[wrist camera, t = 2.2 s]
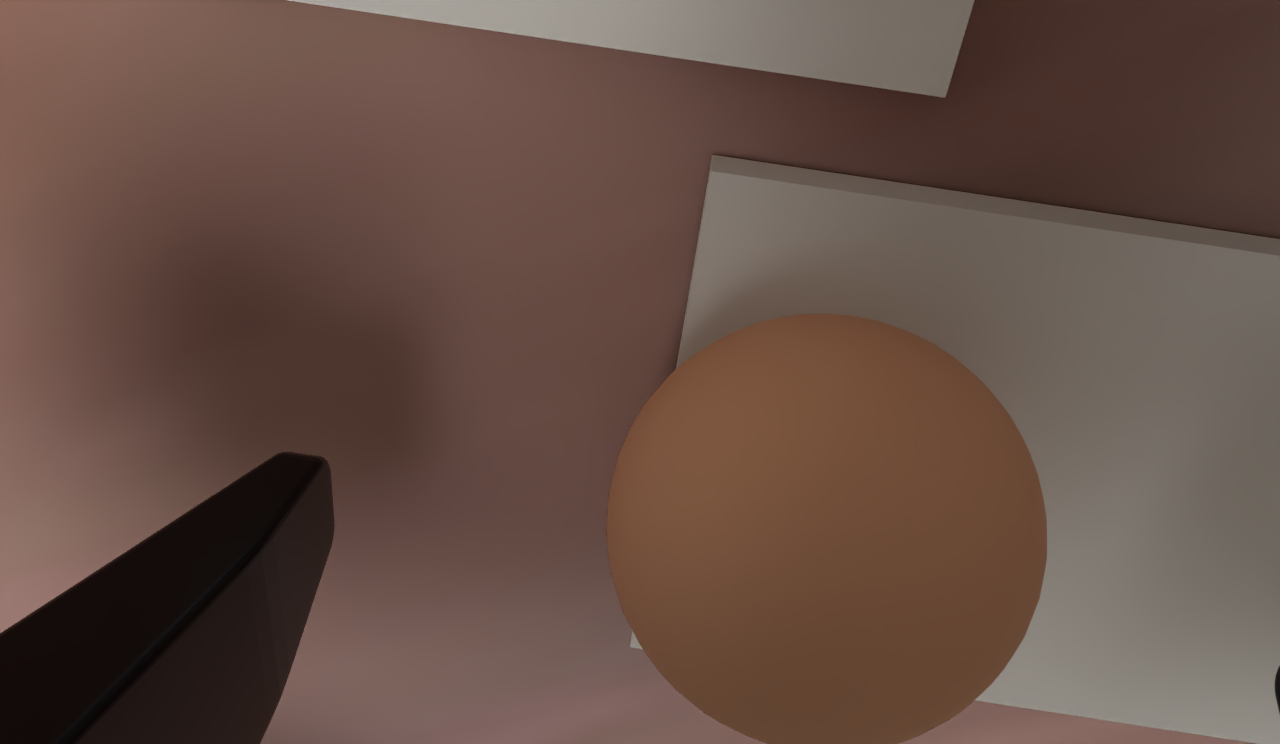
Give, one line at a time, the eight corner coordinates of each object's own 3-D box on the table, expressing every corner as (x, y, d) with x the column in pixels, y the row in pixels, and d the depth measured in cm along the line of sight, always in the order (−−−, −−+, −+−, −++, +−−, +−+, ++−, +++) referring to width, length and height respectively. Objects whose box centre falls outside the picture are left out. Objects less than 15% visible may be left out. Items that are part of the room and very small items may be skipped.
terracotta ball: (938, 556, 12) (1003, 877, 9) (612, 507, 12) (560, 807, 9) (1053, 270, 10) (1196, 562, 7) (653, 210, 10) (602, 471, 7)
